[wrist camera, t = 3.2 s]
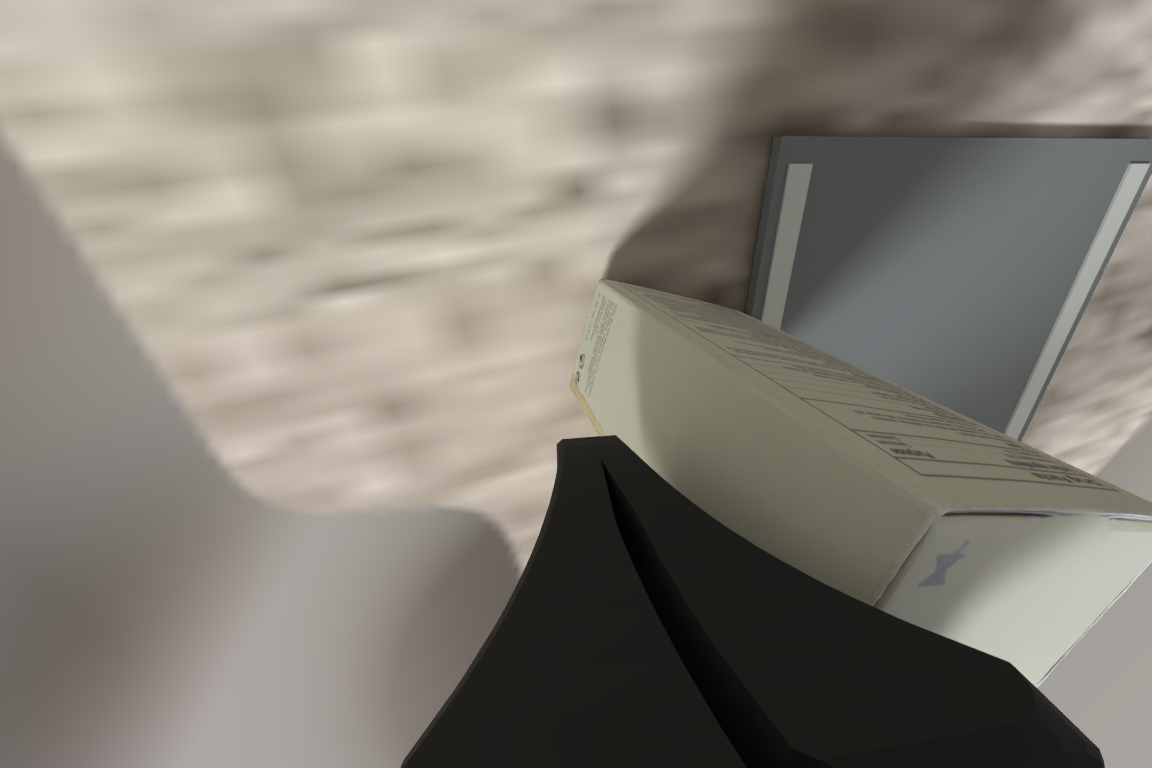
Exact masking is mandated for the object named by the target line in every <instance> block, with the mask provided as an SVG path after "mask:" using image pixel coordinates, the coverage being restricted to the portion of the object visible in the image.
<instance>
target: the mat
mask: <svg viewBox="0 0 1152 768" xmlns="http://www.w3.org/2000/svg"><path fill="white" fill-rule="evenodd" d="M1151 173H1152V139H1100V138H976V137H852V136H777V137H774V138H773V144H772V150H771V156H770V163H769V169H768V175H767V181H766V187H765V193H764V200H763V206H762V212H761V218H760V224H759V230H758V237H757V243H756V249H755V255H754V261H753V268H752V274H751V280H750V286H749V292H748V298H747V305H746V311H745V314H747V315H749V316H751V317H753V318H755V319H758V320H760V321H762V322H764V323H766V324H768V325H770V326H773V327H775V328H777V329H779V330H781V331H783V332H785V333H788V334H790V335H792V336H794V337H796V338H798V339H800V340H803V341H805V342H807V343H809V344H811V345H813V346H815V347H818V348H820V349H822V350H824V351H826V352H828V353H830V354H833V355H835V356H837V357H839V358H841V359H843V360H845V361H848V362H850V363H852V364H854V365H856V366H858V367H860V368H862V369H865V370H867V371H869V372H871V373H873V374H875V375H878V376H880V377H882V378H884V379H886V380H888V381H890V382H893V383H895V384H897V385H899V386H901V387H903V388H905V389H908V390H910V391H912V392H914V393H916V394H919V395H921V396H923V397H925V398H927V399H929V400H932V401H934V402H936V403H938V404H940V405H942V406H945V407H947V408H949V409H951V410H953V411H955V412H957V413H960V414H962V415H964V416H966V417H968V418H970V419H972V420H975V421H977V422H979V423H981V424H983V425H985V426H988V427H990V428H992V429H994V430H996V431H998V432H1001V433H1003V434H1005V435H1007V436H1009V437H1011V438H1014V439H1016V440H1018V441H1021V439H1022V437H1023V435H1024V433H1025V431H1026V429H1027V427H1028V425H1029V423H1030V421H1031V419H1032V417H1033V415H1034V413H1035V411H1036V408H1037V406H1038V404H1039V402H1040V400H1041V398H1042V396H1043V394H1044V392H1045V390H1046V388H1047V386H1048V384H1049V382H1050V380H1051V378H1052V376H1053V374H1054V372H1055V370H1056V368H1057V366H1058V363H1059V361H1060V359H1061V357H1062V355H1063V353H1064V351H1065V349H1066V347H1067V345H1068V343H1069V341H1070V339H1071V337H1072V335H1073V333H1074V331H1075V329H1076V327H1077V325H1078V323H1079V320H1080V318H1081V316H1082V314H1083V312H1084V310H1085V308H1086V306H1087V304H1088V302H1089V300H1090V298H1091V296H1092V294H1093V292H1094V290H1095V288H1096V286H1097V284H1098V282H1099V280H1100V278H1101V275H1102V273H1103V271H1104V269H1105V267H1106V265H1107V263H1108V261H1109V259H1110V257H1111V255H1112V253H1113V251H1114V249H1115V247H1116V245H1117V243H1118V241H1119V239H1120V237H1121V235H1122V232H1123V230H1124V228H1125V226H1126V224H1127V222H1128V220H1129V218H1130V216H1131V214H1132V212H1133V210H1134V208H1135V206H1136V204H1137V202H1138V200H1139V198H1140V196H1141V194H1142V192H1143V190H1144V187H1145V185H1146V183H1147V181H1148V179H1149V177H1150V175H1151Z"/></svg>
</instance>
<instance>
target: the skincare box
mask: <svg viewBox="0 0 1152 768" xmlns="http://www.w3.org/2000/svg"><path fill="white" fill-rule="evenodd" d="M570 389H571V391H572V393H573V394H574V396H575V397H576V399H577V400H578V402H579V404H580V405H581V407H582V409H583V410H584V412H585V413H586V415H587V417H588V418H589V420H590V422H591V423H592V425H593V426H594V428H595V429H596V431H597V433H598V434H599V436H610V435H616V436H617V437H619V438H620V439H621V440H622V441H623V442H624V443H625V444H626V445H627V446H628V447H629V448H630V449H632V450H633V451H634V452H635V453H636V454H637V455H638V456H639V457H640V458H641V459H642V460H643V461H644V462H645V463H647V464H648V465H649V466H650V467H651V468H652V469H653V470H654V471H655V472H657V473H658V474H659V475H660V476H661V477H662V478H663V479H665V480H666V481H667V482H668V483H669V484H670V485H672V486H673V487H674V488H675V489H676V490H678V491H679V492H680V493H681V494H683V495H684V496H685V497H686V498H688V499H689V500H690V501H692V502H693V503H694V504H696V505H697V506H698V507H700V508H701V509H702V510H704V511H705V512H706V513H708V514H709V515H710V516H712V517H713V518H715V519H716V520H717V521H719V522H720V523H722V524H723V525H725V526H726V527H728V528H729V529H731V530H732V531H734V532H735V533H737V534H739V535H740V536H742V537H743V538H745V539H746V540H748V541H750V542H751V543H753V544H754V545H756V546H757V547H759V548H761V549H762V550H764V551H766V552H767V553H769V554H771V555H773V556H774V557H776V558H778V559H780V560H781V561H783V562H785V563H787V564H789V565H791V566H792V567H794V568H796V569H798V570H800V571H802V572H804V573H805V574H807V575H809V576H811V577H813V578H815V579H817V580H819V581H820V582H822V583H824V584H826V585H828V586H831V587H833V588H835V589H837V590H839V591H841V592H843V593H845V594H847V595H849V596H851V597H853V598H855V599H857V600H860V601H862V602H864V603H866V604H869V605H871V606H873V607H875V608H877V609H880V610H882V611H884V612H886V613H888V614H891V615H893V616H895V617H897V618H899V619H902V620H904V621H907V622H909V623H911V624H914V625H916V626H919V627H921V628H924V629H926V630H929V631H931V632H934V633H937V634H939V635H942V636H944V637H947V638H949V639H952V640H954V641H957V642H959V643H962V644H965V645H967V646H970V647H972V648H975V649H977V650H980V651H982V652H985V653H988V654H990V655H993V656H995V657H998V658H1000V659H1003V660H1005V661H1008V662H1010V663H1011V664H1012V665H1013V666H1014V667H1015V668H1016V669H1018V670H1019V671H1020V672H1021V673H1022V674H1023V675H1024V676H1025V677H1026V678H1027V679H1028V680H1029V681H1030V682H1031V683H1032V684H1033V685H1034V686H1035V687H1036V688H1037V687H1038V686H1039V685H1040V684H1041V683H1042V682H1043V681H1044V680H1045V679H1046V677H1047V676H1048V675H1049V674H1050V673H1051V672H1052V671H1053V669H1054V668H1055V667H1056V666H1057V664H1058V663H1059V662H1060V661H1061V660H1062V659H1063V658H1064V657H1065V656H1066V655H1067V653H1068V652H1069V651H1070V650H1071V649H1072V648H1073V647H1074V646H1075V644H1076V643H1077V642H1078V641H1079V640H1080V639H1081V638H1082V637H1083V636H1084V635H1085V634H1086V632H1087V631H1088V630H1089V629H1090V628H1091V627H1092V626H1093V625H1094V624H1095V623H1096V622H1097V621H1098V620H1099V619H1100V618H1101V617H1102V615H1103V614H1104V613H1105V612H1106V611H1107V610H1108V609H1109V608H1110V607H1111V606H1112V604H1113V603H1115V601H1116V600H1117V599H1118V598H1119V597H1120V596H1121V595H1122V594H1123V593H1124V592H1125V591H1126V590H1127V589H1128V588H1129V587H1130V585H1131V584H1132V583H1133V582H1134V580H1135V579H1136V578H1137V577H1138V576H1139V575H1140V574H1141V573H1142V572H1143V571H1144V570H1145V568H1146V567H1147V566H1148V565H1149V564H1150V563H1151V562H1152V503H1151V502H1149V501H1147V500H1144V499H1142V498H1140V497H1138V496H1136V495H1134V494H1132V493H1130V492H1128V491H1126V490H1124V489H1121V488H1119V487H1117V486H1115V485H1113V484H1111V483H1108V482H1106V481H1104V480H1102V479H1100V478H1098V477H1095V476H1093V475H1091V474H1089V473H1087V472H1084V471H1082V470H1080V469H1078V468H1076V467H1074V466H1071V465H1069V464H1067V463H1065V462H1063V461H1061V460H1058V459H1056V458H1054V457H1052V456H1050V455H1048V454H1045V453H1043V452H1041V451H1039V450H1037V449H1035V448H1033V447H1031V446H1028V445H1026V444H1024V443H1022V442H1020V441H1018V440H1016V439H1014V438H1011V437H1009V436H1007V435H1005V434H1003V433H1001V432H998V431H996V430H994V429H992V428H990V427H988V426H985V425H983V424H981V423H979V422H977V421H975V420H972V419H970V418H968V417H966V416H964V415H962V414H960V413H957V412H955V411H953V410H951V409H949V408H947V407H945V406H942V405H940V404H938V403H936V402H934V401H932V400H929V399H927V398H925V397H923V396H921V395H919V394H916V393H914V392H912V391H910V390H908V389H905V388H903V387H901V386H899V385H897V384H895V383H893V382H890V381H888V380H886V379H884V378H882V377H880V376H878V375H875V374H873V373H871V372H869V371H867V370H865V369H862V368H860V367H858V366H856V365H854V364H852V363H850V362H848V361H845V360H843V359H841V358H839V357H837V356H835V355H833V354H830V353H828V352H826V351H824V350H822V349H820V348H818V347H815V346H813V345H811V344H809V343H807V342H805V341H803V340H800V339H798V338H796V337H794V336H792V335H790V334H788V333H785V332H783V331H781V330H779V329H777V328H775V327H773V326H770V325H768V324H766V323H764V322H762V321H760V320H758V319H755V318H753V317H751V316H749V315H747V314H745V313H743V312H740V311H738V310H735V309H731V308H727V307H723V306H720V305H716V304H712V303H708V302H705V301H701V300H697V299H693V298H689V297H685V296H681V295H676V294H671V293H667V292H663V291H659V290H655V289H650V288H645V287H641V286H637V285H632V284H627V283H622V282H617V281H613V280H608V279H601V280H599V282H598V284H597V287H596V291H595V295H594V298H593V301H592V304H591V308H590V311H589V314H588V318H587V321H586V325H585V328H584V332H583V335H582V339H581V343H580V346H579V350H578V354H577V358H576V361H575V365H574V369H573V373H572V377H571V382H570Z"/></svg>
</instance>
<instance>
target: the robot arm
mask: <svg viewBox="0 0 1152 768" xmlns="http://www.w3.org/2000/svg"><path fill="white" fill-rule="evenodd" d="M401 768H1105V766H1104V761H1103V758H1102V755H1101V752H1100V750H1099V748H1098V747H1097V746H1095V744H1094V743H1093V742H1092V741H1090V740H1089V739H1088V738H1087V737H1086V736H1085V735H1084V734H1083V733H1082V732H1081V731H1080V730H1079V729H1078V728H1077V727H1076V726H1075V725H1074V724H1073V723H1072V722H1071V721H1070V720H1069V719H1068V718H1067V717H1066V716H1065V715H1064V714H1063V713H1062V712H1061V711H1060V710H1059V709H1058V708H1057V707H1056V706H1055V705H1054V704H1053V703H1052V702H1050V701H1049V700H1048V699H1047V698H1046V697H1045V696H1044V695H1043V694H1042V693H1041V692H1040V691H1039V690H1038V689H1037V688H1036V687H1035V686H1034V685H1033V684H1032V683H1031V682H1030V681H1029V680H1028V679H1027V678H1026V677H1025V676H1024V675H1023V674H1022V673H1021V672H1020V671H1019V670H1018V669H1016V668H1015V667H1014V666H1013V665H1012V664H1011V663H1010V662H1008V661H1005V660H1003V659H1000V658H998V657H995V656H993V655H990V654H988V653H985V652H982V651H980V650H977V649H975V648H972V647H970V646H967V645H965V644H962V643H959V642H957V641H954V640H952V639H949V638H947V637H944V636H942V635H939V634H937V633H934V632H931V631H929V630H926V629H924V628H921V627H919V626H916V625H914V624H911V623H909V622H907V621H904V620H902V619H899V618H897V617H895V616H893V615H891V614H888V613H886V612H884V611H882V610H880V609H877V608H875V607H873V606H871V605H869V604H866V603H864V602H862V601H860V600H857V599H855V598H853V597H851V596H849V595H847V594H845V593H843V592H841V591H839V590H837V589H835V588H833V587H831V586H828V585H826V584H824V583H822V582H820V581H819V580H817V579H815V578H813V577H811V576H809V575H807V574H805V573H804V572H802V571H800V570H798V569H796V568H794V567H792V566H791V565H789V564H787V563H785V562H783V561H781V560H780V559H778V558H776V557H774V556H773V555H771V554H769V553H767V552H766V551H764V550H762V549H761V548H759V547H757V546H756V545H754V544H753V543H751V542H750V541H748V540H746V539H745V538H743V537H742V536H740V535H739V534H737V533H735V532H734V531H732V530H731V529H729V528H728V527H726V526H725V525H723V524H722V523H720V522H719V521H717V520H716V519H715V518H713V517H712V516H710V515H709V514H708V513H706V512H705V511H704V510H702V509H701V508H700V507H698V506H697V505H696V504H694V503H693V502H692V501H690V500H689V499H688V498H686V497H685V496H684V495H683V494H681V493H680V492H679V491H678V490H676V489H675V488H674V487H673V486H672V485H670V484H669V483H668V482H667V481H666V480H665V479H663V478H662V477H661V476H660V475H659V474H658V473H657V472H655V471H654V470H653V469H652V468H651V467H650V466H649V465H648V464H647V463H645V462H644V461H643V460H642V459H641V458H640V457H639V456H638V455H637V454H636V453H635V452H634V451H633V450H632V449H630V448H629V447H628V446H627V445H626V444H625V443H624V442H623V441H622V440H621V439H620V438H619V437H617V436H616V435H610V436H597V437H585V438H573V439H562V440H561V441H560V442H559V443H558V444H557V474H556V479H555V484H554V488H553V492H552V496H551V500H550V504H549V507H548V510H547V513H546V516H545V519H544V522H543V525H542V528H541V531H540V534H539V536H538V539H537V541H536V544H535V547H534V549H533V551H532V554H531V556H530V558H529V561H528V563H527V565H526V567H525V569H524V572H523V574H522V576H521V578H520V580H519V582H518V584H517V586H516V588H515V590H514V592H513V594H512V596H511V598H510V600H509V601H508V604H507V605H506V607H505V609H504V611H503V613H502V614H501V616H500V618H499V620H498V621H497V623H496V625H495V627H494V628H493V630H492V632H491V633H490V635H489V636H488V638H487V640H486V641H485V643H484V644H483V646H482V648H481V649H480V651H479V652H478V654H477V656H476V657H475V659H474V660H473V662H472V664H471V665H470V667H469V669H468V670H467V672H466V673H465V675H464V676H463V678H462V680H461V681H460V682H459V684H458V685H457V687H456V688H455V690H454V692H453V693H452V694H451V696H450V697H449V698H448V700H447V701H446V702H445V704H444V705H443V707H442V708H441V709H440V711H439V712H438V713H437V715H436V716H435V718H434V719H433V720H432V722H431V723H430V725H429V726H428V727H427V729H426V730H425V732H424V733H423V734H422V736H421V737H420V738H419V740H418V741H417V743H416V744H415V746H414V747H413V748H412V750H411V751H410V752H409V754H408V755H407V756H406V758H405V759H404V761H403V763H402V766H401Z"/></svg>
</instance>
